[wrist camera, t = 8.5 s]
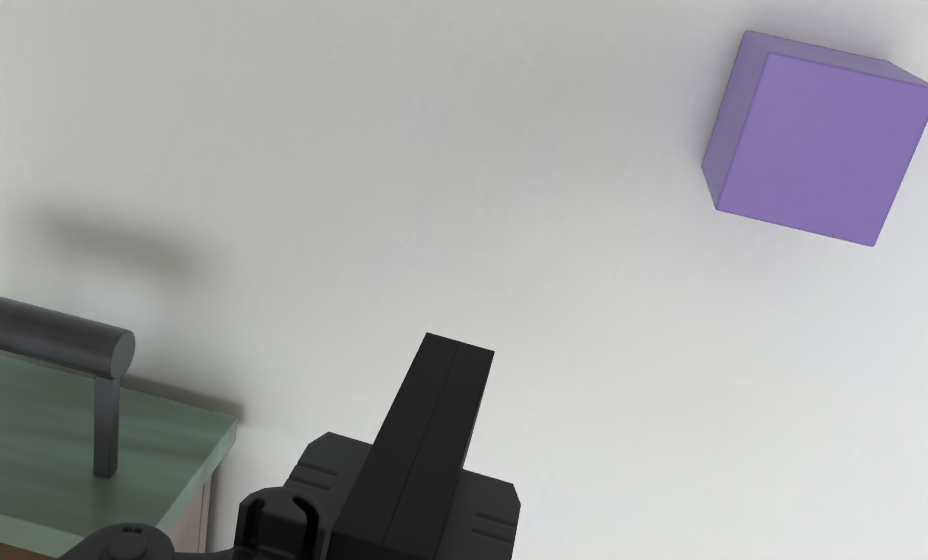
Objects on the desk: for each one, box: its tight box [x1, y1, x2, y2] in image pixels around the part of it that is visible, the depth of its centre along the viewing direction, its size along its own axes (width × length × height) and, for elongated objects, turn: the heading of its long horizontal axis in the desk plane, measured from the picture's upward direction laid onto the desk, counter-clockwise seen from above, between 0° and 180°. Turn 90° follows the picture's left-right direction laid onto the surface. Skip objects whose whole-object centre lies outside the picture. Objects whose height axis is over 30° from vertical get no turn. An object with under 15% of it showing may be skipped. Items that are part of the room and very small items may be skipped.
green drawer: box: [0, 297, 237, 560], centre depth 32 cm, size 19×11×8 cm, turn 169°
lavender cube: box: [702, 31, 928, 247], centre depth 25 cm, size 4×4×4 cm
